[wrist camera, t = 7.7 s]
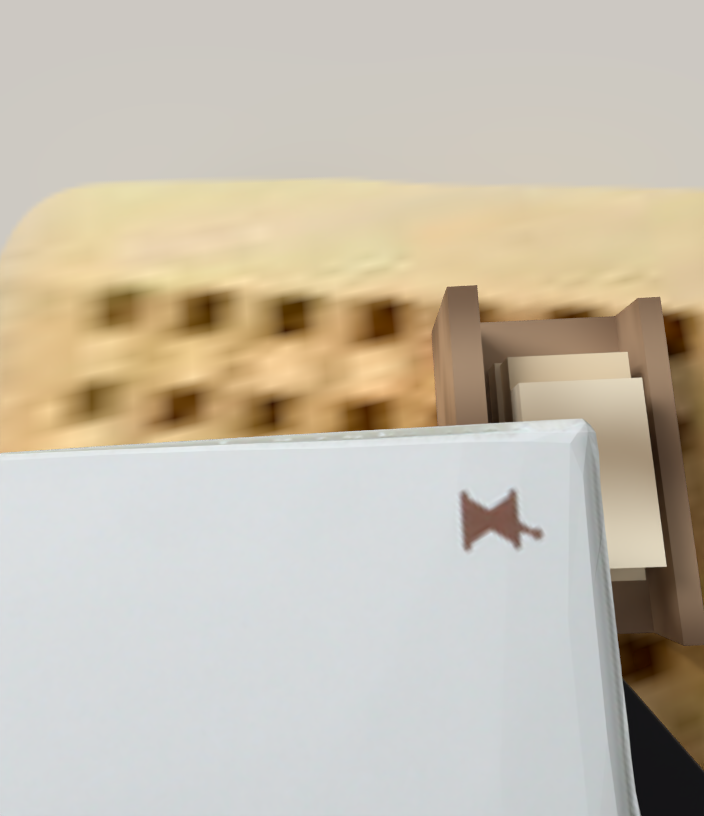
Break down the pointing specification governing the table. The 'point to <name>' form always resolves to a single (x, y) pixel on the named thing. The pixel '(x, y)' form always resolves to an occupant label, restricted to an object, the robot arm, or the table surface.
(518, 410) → the offcut stack
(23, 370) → the table surface
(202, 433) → the table surface
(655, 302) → the tray
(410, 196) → the table surface
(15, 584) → the supplement box
